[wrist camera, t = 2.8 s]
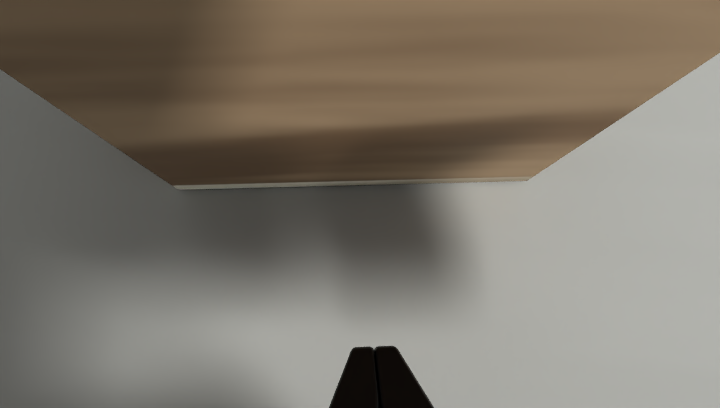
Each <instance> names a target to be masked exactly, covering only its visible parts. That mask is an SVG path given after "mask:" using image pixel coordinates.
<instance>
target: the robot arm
mask: <svg viewBox="0 0 720 408" xmlns="http://www.w3.org/2000/svg"><path fill="white" fill-rule="evenodd" d="M329 408H434V407H433V405H432V404H431V402H430V401H429V399H428V397H427V396H426V394H425V392H424V391H423V389H422V388H421V386H420V384H419V383H418V381H417V380H416V378H415V376H414V375H413V373H412V371H411V370H410V368H409V367H408V365H407V363H406V362H405V360H404V359H403V357H402V355H401V354H400V352H399V351H398V349H397V348H396V347H394V346H378V347H376V348H375V349H373V348H372V347H355V348H353V349H352V350H351V352H350V355H349V357H348V360H347V363H346V365H345V368H344V370H343V373H342V375H341V378H340V381H339V383H338V386H337V388H336V391H335V393H334V396H333V399H332V401H331V404H330V406H329Z"/></svg>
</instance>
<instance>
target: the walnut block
mask: <svg viewBox="0 0 720 408" xmlns="http://www.w3.org/2000/svg"><path fill="white" fill-rule="evenodd" d="M718 53H720V0H0V69H1V70H2V71H4V72H5V73H7V74H8V75H10V76H11V77H13V78H14V79H16V80H17V81H18V82H20V83H21V84H23V85H24V86H26V87H27V88H29V89H30V90H32V91H33V92H35V93H36V94H38V95H39V96H41V97H42V98H44V99H45V100H47V101H48V102H49V103H51V104H52V105H54V106H55V107H57V108H58V109H60V110H61V111H63V112H64V113H66V114H67V115H69V116H70V117H72V118H73V119H75V120H76V121H77V122H79V123H80V124H82V125H83V126H85V127H86V128H88V129H89V130H91V131H92V132H94V133H95V134H97V135H98V136H100V137H101V138H103V139H104V140H106V141H107V142H108V143H110V144H111V145H113V146H114V147H116V148H117V149H119V150H120V151H122V152H123V153H125V154H126V155H128V156H129V157H131V158H132V159H134V160H135V161H137V162H138V163H139V164H141V165H142V166H144V167H145V168H147V169H148V170H150V171H151V172H153V173H154V174H156V175H157V176H159V177H160V178H162V179H163V180H165V181H166V182H167V183H169V184H170V185H172V186H173V187H175V188H176V189H178V190H185V189H224V188H263V187H303V186H342V185H381V184H420V183H460V182H499V181H527V180H529V179H530V178H532V177H533V176H535V175H536V174H538V173H539V172H541V171H542V170H544V169H545V168H547V167H548V166H550V165H551V164H553V163H554V162H556V161H557V160H559V159H560V158H562V157H563V156H565V155H566V154H568V153H569V152H571V151H572V150H574V149H575V148H577V147H579V146H580V145H582V144H583V143H585V142H586V141H588V140H589V139H591V138H592V137H594V136H595V135H597V134H598V133H600V132H601V131H603V130H604V129H606V128H607V127H609V126H610V125H612V124H613V123H615V122H616V121H618V120H619V119H621V118H622V117H624V116H625V115H627V114H628V113H630V112H631V111H633V110H634V109H636V108H637V107H639V106H640V105H642V104H643V103H645V102H646V101H648V100H649V99H651V98H652V97H654V96H655V95H657V94H658V93H660V92H661V91H663V90H664V89H666V88H667V87H669V86H670V85H672V84H673V83H675V82H676V81H678V80H679V79H681V78H682V77H684V76H685V75H687V74H688V73H690V72H691V71H693V70H694V69H696V68H697V67H699V66H700V65H702V64H703V63H705V62H706V61H708V60H709V59H711V58H712V57H714V56H715V55H717V54H718Z"/></svg>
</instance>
